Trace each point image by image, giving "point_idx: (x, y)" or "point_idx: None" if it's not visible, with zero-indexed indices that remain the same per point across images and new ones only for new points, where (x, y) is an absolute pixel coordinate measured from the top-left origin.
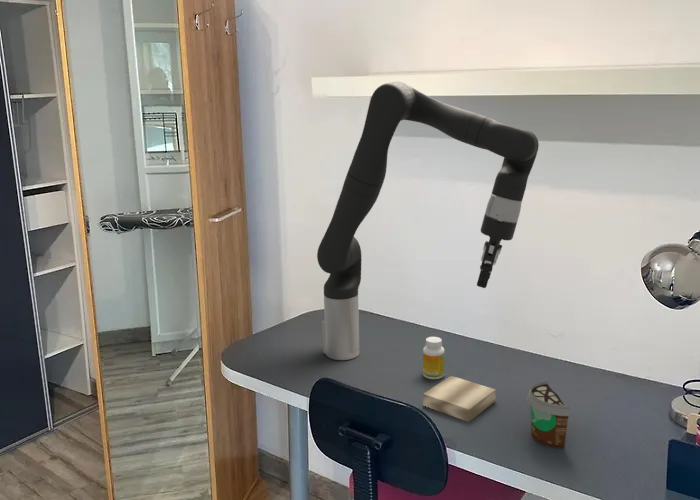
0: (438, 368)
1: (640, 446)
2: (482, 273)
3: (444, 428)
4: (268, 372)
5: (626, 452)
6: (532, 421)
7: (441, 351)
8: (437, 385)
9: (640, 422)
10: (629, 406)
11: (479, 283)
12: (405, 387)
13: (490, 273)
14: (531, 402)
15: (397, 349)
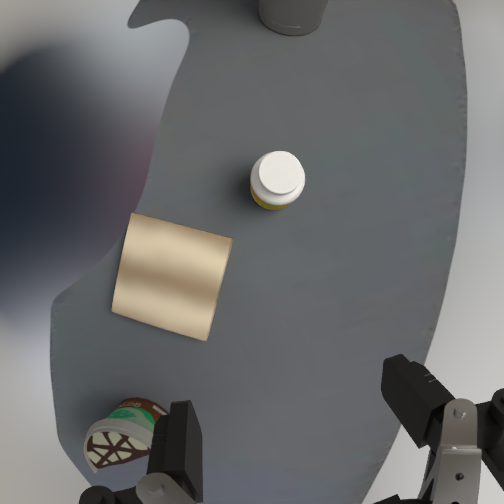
0: (258, 201)
1: None
2: (148, 473)
3: (88, 274)
4: None
5: None
6: (115, 410)
7: (268, 200)
8: (175, 226)
9: (237, 501)
10: (278, 491)
11: (158, 423)
12: (197, 156)
13: (397, 416)
14: (93, 426)
15: (358, 88)
